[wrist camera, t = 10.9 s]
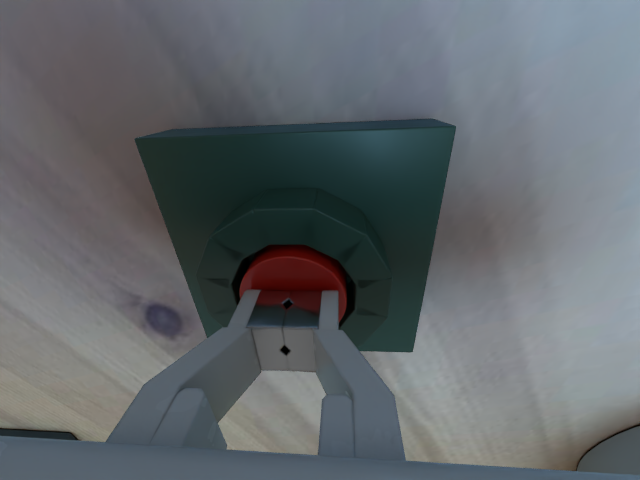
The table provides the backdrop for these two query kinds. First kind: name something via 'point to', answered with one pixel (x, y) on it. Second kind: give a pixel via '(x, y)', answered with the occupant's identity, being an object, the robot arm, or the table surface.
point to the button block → (307, 211)
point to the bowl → (615, 455)
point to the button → (295, 272)
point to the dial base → (37, 434)
